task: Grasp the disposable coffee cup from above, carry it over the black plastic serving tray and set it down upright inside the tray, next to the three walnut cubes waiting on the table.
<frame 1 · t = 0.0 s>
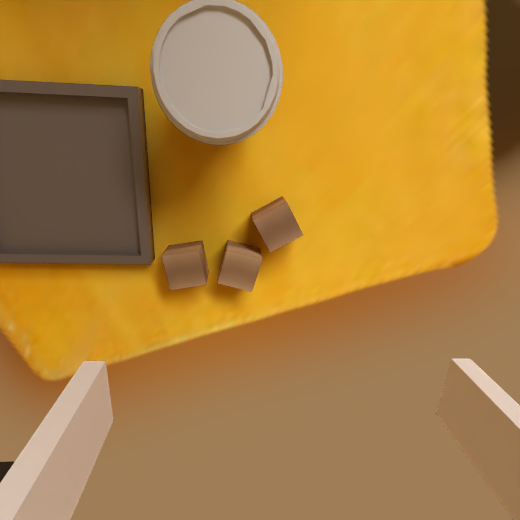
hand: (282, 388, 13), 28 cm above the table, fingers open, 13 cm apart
disposable coffee cup: (223, 93, 35), on the table
cube c: (274, 219, 39), on the table
cube b: (239, 259, 41), on the table
cube a: (189, 258, 40), on the table
tray: (63, 178, 36), on the table
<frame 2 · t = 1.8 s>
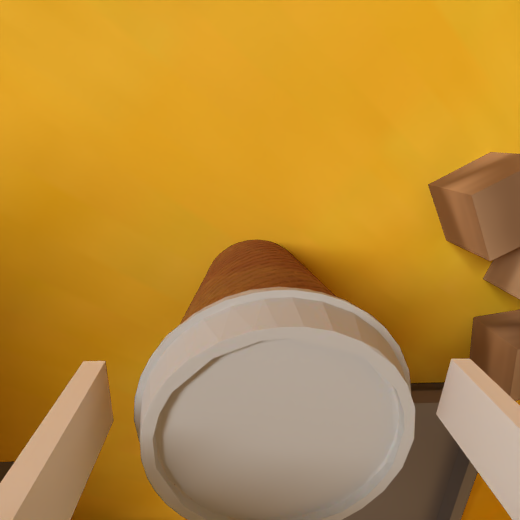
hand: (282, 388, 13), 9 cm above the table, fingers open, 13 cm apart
disposable coffee cup: (254, 285, 22), on the table
cube c: (466, 197, 21), on the table
cube a: (496, 335, 25), on the table
tray: (354, 472, 28), on the table
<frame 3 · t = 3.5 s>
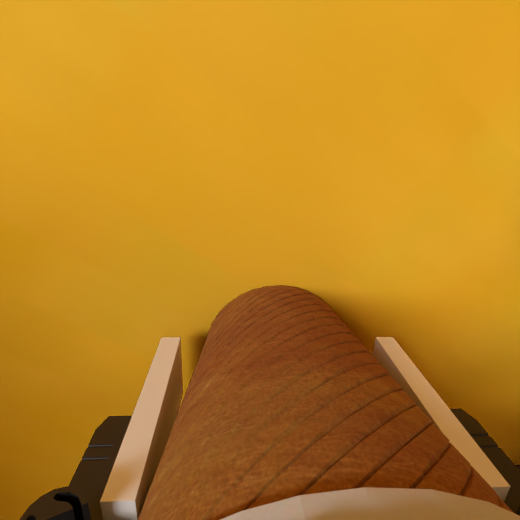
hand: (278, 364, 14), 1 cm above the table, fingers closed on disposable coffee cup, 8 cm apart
disposable coffee cup: (274, 344, 16), on the table, touching gripper
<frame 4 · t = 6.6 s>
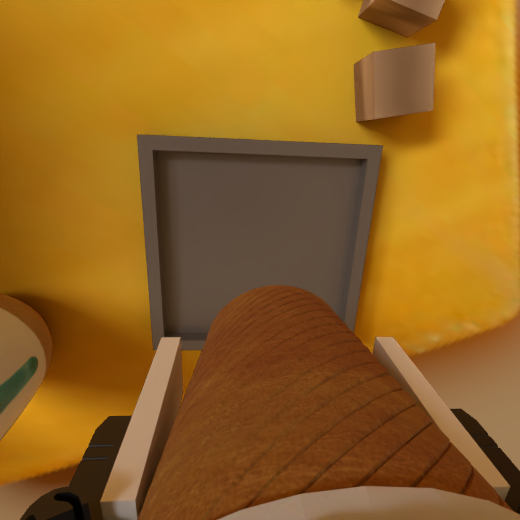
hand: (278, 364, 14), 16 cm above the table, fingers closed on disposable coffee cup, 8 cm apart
disposable coffee cup: (274, 344, 16), point 15 cm above the table, touching gripper
vase: (12, 326, 31), on the table
cube a: (380, 90, 26), on the table
tray: (256, 249, 30), on the table
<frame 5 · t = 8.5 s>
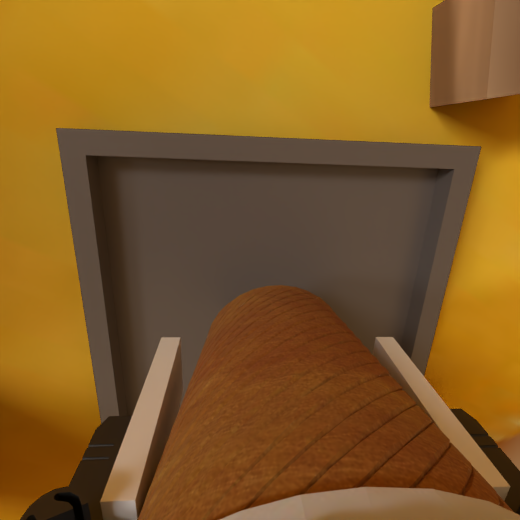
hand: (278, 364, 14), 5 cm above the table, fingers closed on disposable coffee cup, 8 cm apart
disposable coffee cup: (274, 344, 16), point 4 cm above the table, touching gripper
cube a: (472, 53, 16), on the table
tray: (265, 306, 19), on the table
when the fingers open (3 cm above the table, at t = 9.9 s): disposable coffee cup stays where it is, resting on tray.
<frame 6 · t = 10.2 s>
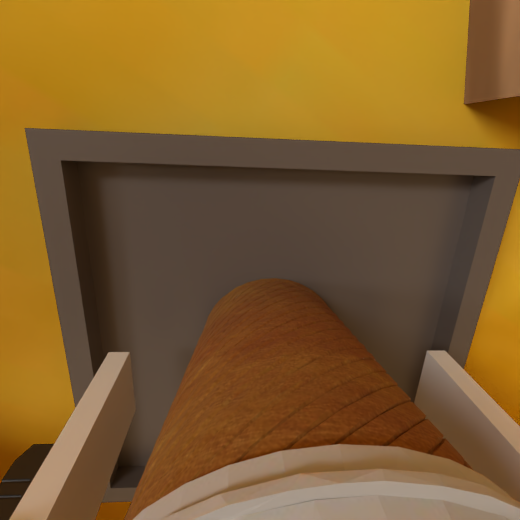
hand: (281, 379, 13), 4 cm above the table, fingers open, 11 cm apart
disposable coffee cup: (269, 335, 16), point 1 cm above the table, touching tray
cube a: (515, 41, 13), on the table
tray: (271, 330, 17), on the table
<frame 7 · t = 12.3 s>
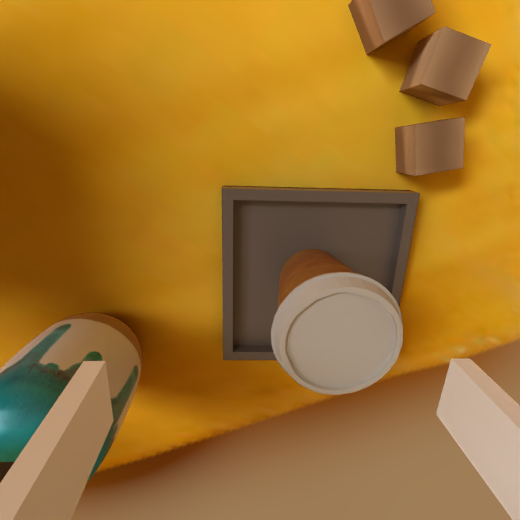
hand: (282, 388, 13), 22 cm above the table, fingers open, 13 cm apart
disposable coffee cup: (309, 277, 35), point 1 cm above the table, touching tray
vase: (105, 339, 37), on the table
cube c: (379, 18, 28), on the table
cube b: (428, 74, 30), on the table
cube a: (416, 146, 32), on the table
tray: (310, 275, 35), on the table
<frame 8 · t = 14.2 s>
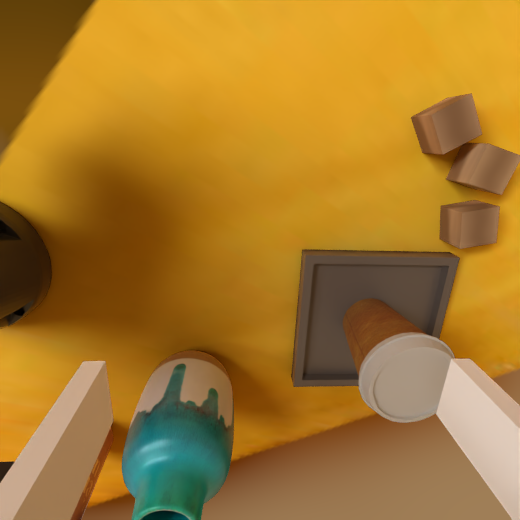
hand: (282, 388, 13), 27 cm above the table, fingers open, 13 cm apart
disposable coffee cup: (366, 319, 43), point 1 cm above the table, touching tray
beverage can: (93, 430, 47), on the table
vase: (193, 370, 44), on the table
cube c: (434, 126, 36), on the table
cube b: (469, 166, 38), on the table
cube a: (456, 219, 40), on the table
tray: (366, 317, 43), on the table
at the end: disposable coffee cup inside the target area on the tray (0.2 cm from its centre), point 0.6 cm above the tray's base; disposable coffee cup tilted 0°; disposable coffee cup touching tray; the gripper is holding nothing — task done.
